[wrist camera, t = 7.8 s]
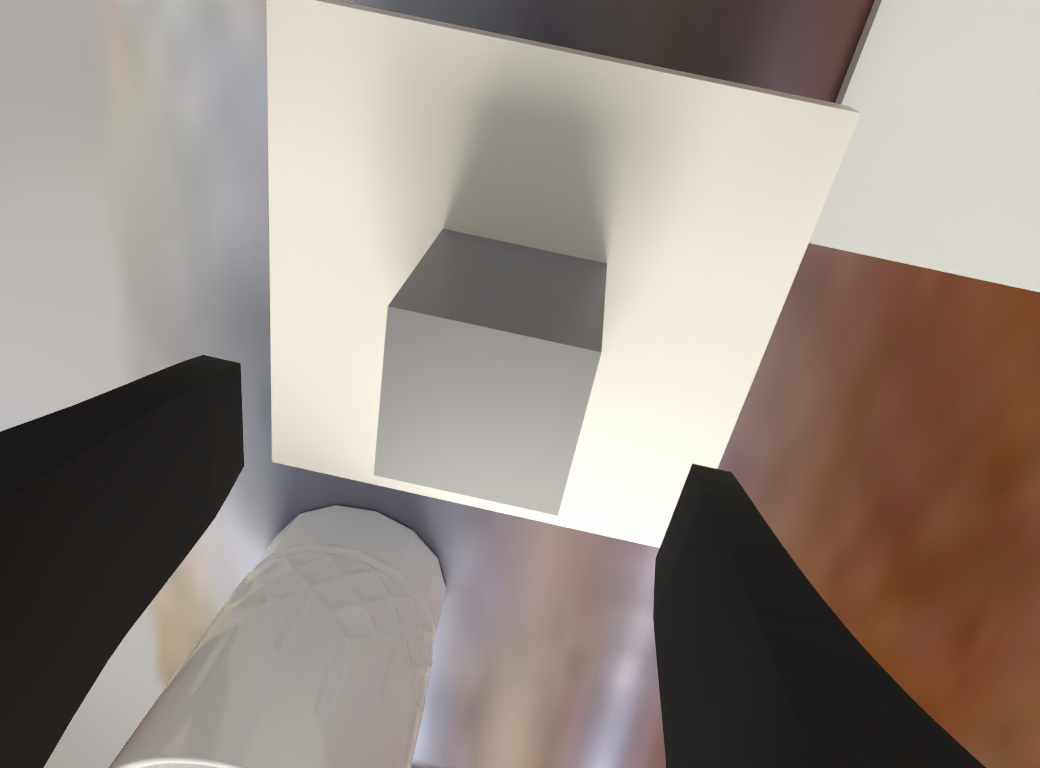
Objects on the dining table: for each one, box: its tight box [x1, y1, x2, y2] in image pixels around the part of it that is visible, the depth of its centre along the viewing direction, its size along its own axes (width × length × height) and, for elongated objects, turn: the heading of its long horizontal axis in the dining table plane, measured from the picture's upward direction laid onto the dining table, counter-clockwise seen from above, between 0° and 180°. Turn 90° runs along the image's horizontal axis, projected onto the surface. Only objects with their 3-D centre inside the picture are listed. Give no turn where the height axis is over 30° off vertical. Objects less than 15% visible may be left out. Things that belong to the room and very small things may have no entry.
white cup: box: [109, 505, 446, 768], centre depth 23 cm, size 8×8×10 cm
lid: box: [267, 0, 861, 548], centre depth 14 cm, size 11×11×5 cm
